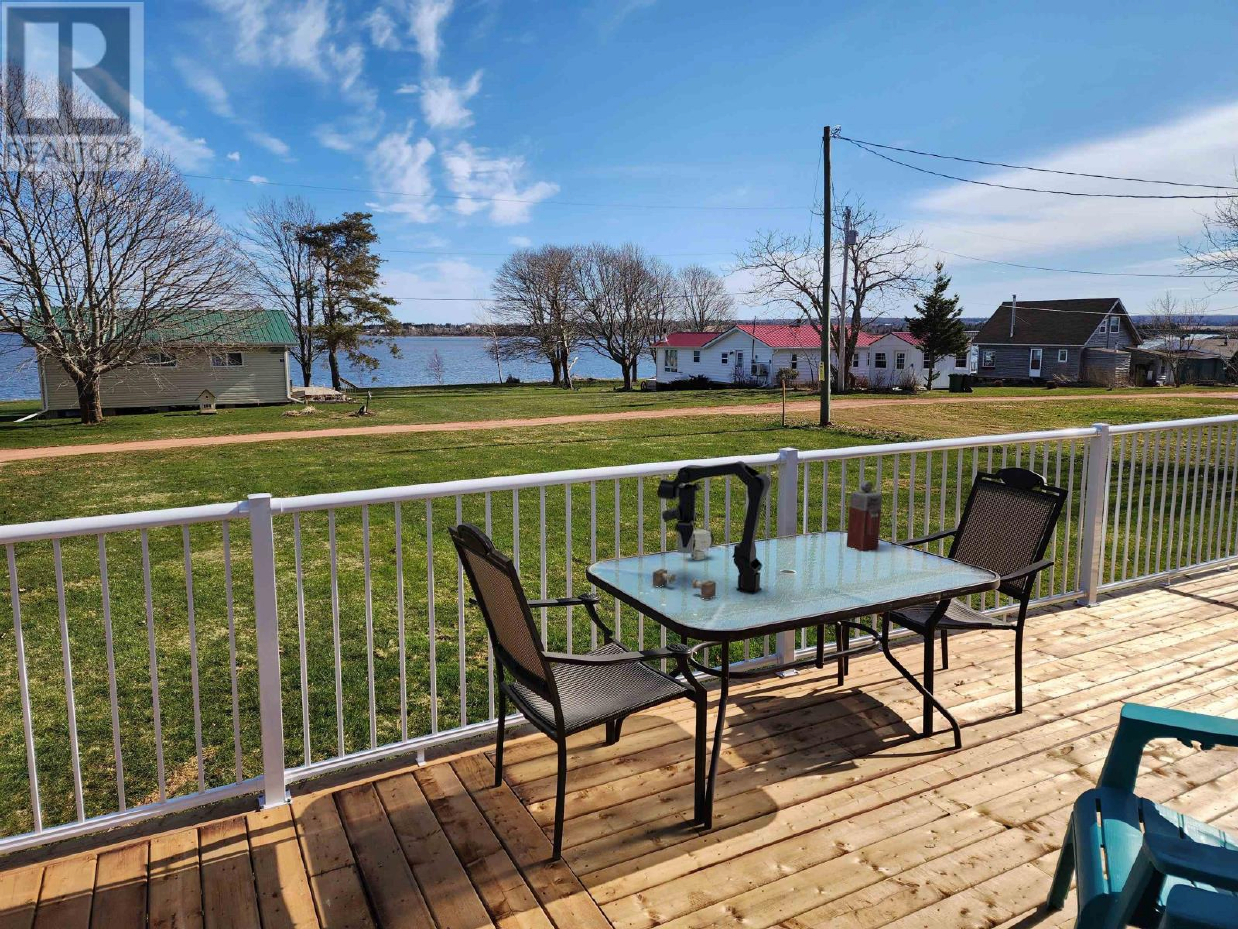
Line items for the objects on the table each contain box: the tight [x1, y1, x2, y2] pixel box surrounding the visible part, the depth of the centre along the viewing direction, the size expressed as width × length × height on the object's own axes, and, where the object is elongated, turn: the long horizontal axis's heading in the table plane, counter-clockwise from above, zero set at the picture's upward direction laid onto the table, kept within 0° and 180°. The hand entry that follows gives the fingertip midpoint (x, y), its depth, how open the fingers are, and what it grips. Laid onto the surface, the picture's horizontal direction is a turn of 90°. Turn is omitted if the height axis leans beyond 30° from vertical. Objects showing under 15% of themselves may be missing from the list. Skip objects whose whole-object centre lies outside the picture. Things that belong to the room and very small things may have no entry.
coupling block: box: [676, 531, 694, 555], centre depth 268 cm, size 6×5×8 cm
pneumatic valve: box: [690, 528, 715, 561], centre depth 294 cm, size 6×12×12 cm, turn 122°
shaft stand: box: [652, 568, 717, 600], centre depth 256 cm, size 22×5×5 cm, turn 53°
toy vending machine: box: [846, 480, 883, 552], centre depth 314 cm, size 9×11×28 cm
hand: (685, 545), depth 269 cm, fingers closed on coupling block, 5 cm apart
